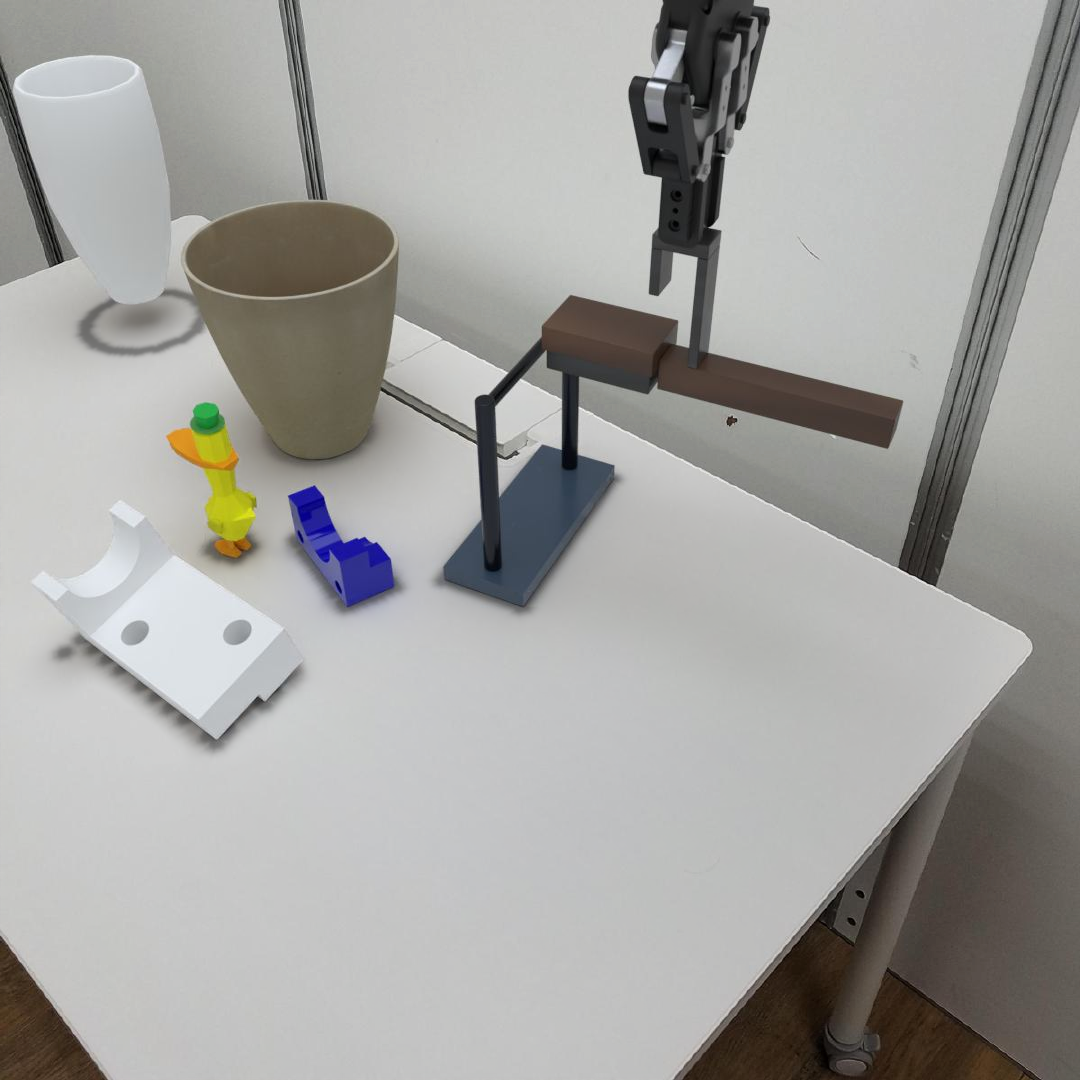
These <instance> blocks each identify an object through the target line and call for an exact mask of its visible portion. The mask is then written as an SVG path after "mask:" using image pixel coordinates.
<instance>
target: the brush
mask: <svg viewBox="0 0 1080 1080" xmlns="http://www.w3.org/2000/svg"><path fill="white" fill-rule="evenodd" d="M696 143H697V138H696ZM715 145H716V135H714V138H713V146H712V154H711V162H710V165H711V169H710V173H709V175H708V183H707V194H706V204H705V214H704V225H703V235H702V239H701V240H700V242H699V243H698V244H697V245H696V246H695V247H694V248H691V249H689V248H684V247H679V246H674V245H670V244H665V243H663V242H662V241H661V240H660V239H659V237H658V228H656V230H655V231H654V232H653V233H652V235H651V250H650V252H651V253H650V264H649V265H650V266H649V279H648V280H649V282H648V295H650V296H654V297H659V296H660V295H661V294H662V293H663V291H664V290H665V289H666V287H667V286H668V285H669V284H670V282H671V281H672V276H673V262H674V254H678V255H683V256H689V257H693V258H697V260H696V271H695V279H694V291H693V302H692V313H691V322H690V333H689V345H688V347H687V346H684V345H678V344H677V342H678V331H679V320H678V319H675V318H670V317H665V316H662V315H658V314H653V313H649V312H644V311H641V310H637V309H632V308H627V307H623V306H620V305H615V304H611V303H607V302H602V301H598V300H594V299H591V298H585V297H582V296H578V295H572V294H570V295H569V296H568V297H566V299H564V301H563V302H562V303H561V304H560V305H559V306H558V307H557V308H556V310H555V311H553V313H552V314H551V315H550V316H549V318H547V319H546V320H545V321H544V323H543V324H542V325H541V337H542V349H544V350H546V369H549V370H553V371H557V372H560V373H562V372H564V373H567V374H571V375H575V376H579V378H583V379H586V380H591V381H595V382H598V383H601V384H606V385H611V386H614V387H616V388H617V387H618V388H620V389H625V390H628V391H632V392H636V393H640V394H643V395H649V394H650V393H651V391H653V389H654V387H655V386H656V389H657V390H659V391H663V392H667V393H672V394H675V395H679V396H683V397H687V398H690V399H695V400H697V401H702V402H706V403H709V404H713V405H717V406H721V407H726V408H729V409H733V410H736V411H740V412H743V413H744V412H745V413H749V414H752V415H756V416H760V417H764V418H767V419H771V420H775V421H779V422H782V423H786V424H789V425H790V424H791V425H794V426H797V427H801V428H805V429H810V430H813V431H817V432H820V433H824V434H829V435H832V436H835V437H840V438H844V439H847V440H851V441H855V442H859V443H863V444H867V445H870V446H874V447H878V448H882V449H886V450H888V449H889V448H890V446H891V443H892V441H893V439H894V437H895V434H896V431H897V429H898V424H899V421H900V417H901V413H902V409H903V405H904V400H903V399H899V398H895V397H891V396H887V395H883V394H880V393H879V394H878V393H874V392H870V391H866V390H863V389H858V388H854V387H850V386H846V385H842V384H838V383H835V382H829V381H826V380H821V379H818V378H814V377H809V376H805V375H801V374H797V373H793V372H789V371H785V370H781V369H777V368H773V367H770V366H769V367H768V366H764V365H760V364H758V363H757V364H756V363H752V362H749V361H744V360H740V359H736V358H733V357H728V356H723V355H721V354H720V355H719V354H716V353H711V352H710V351H709V350H710V343H711V342H710V341H711V332H712V324H713V323H712V321H713V313H714V306H715V305H714V304H715V296H716V286H717V279H718V278H717V277H718V269H719V260H720V259H719V258H720V249H721V242H722V241H721V240H722V233H723V231H722V230H721V229H717V228H712V227H708V228H707V226H708V216H709V206H710V195H711V185H712V175H713V165H714V155H715Z"/></svg>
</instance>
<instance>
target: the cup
mask: <svg viewBox="0 0 1080 1080" xmlns="http://www.w3.org/2000/svg"><path fill="white" fill-rule="evenodd" d="M12 94H13V98H14V100H15V105H16V107H17V111H18V115H19V119H20V122H21V126H22V130H23V133H24V136H25V140H26V143H27V148H28V150H29V153H30V157H31V159H32V162H33V165H34V167H35V171H36V172H37V176H38V178H39V180H40V183H41V186H42V188H43V191H44V193H45V196H46V199H47V201H48V205H49V207H50V209H51V211H52V213H53V214H54V216H55V218H56V220H57V221H58V223H59V225H60V226H61V229H62V230H63V232H64V234H65V236H66V237H67V239H68V241H69V243H70V244H71V246H72V248H73V250H74V252H75V253H76V255H77V256H78V257H79V259H80V260H81V262H82V264H84V266H85V267H86V269H87V270H88V271H89V272H90V274H91V275H92V277H93V278H94V280H95V281H96V282H97V283H98V284H99V285H100V287H102V289H103V291H105V292H106V293H107V294H108V295H109V297H111V299H112V300H113V301H114V302H116V303H119V304H121V305H138V304H144V303H147V302H150V301H153V300H155V299H156V298H158V297H159V296H161V295H162V293H163V292H164V291H165V289H166V283H167V280H168V279H167V278H168V274H169V267H170V258H171V246H172V221H171V219H172V218H171V217H172V216H171V194H170V193H171V190H170V181H169V176H168V171H167V166H166V165H167V164H166V161H165V154H164V150H163V145H162V139H161V135H160V129H159V125H158V122H157V118H156V115H155V111H154V108H153V104H152V99H151V97H150V93H149V90H148V87H147V82H146V79H145V76H144V72H143V69H142V68H141V67H140V65H138V64H137V63H135V62H134V61H132V60H130V59H129V58H123V57H119V56H115V55H98V54H97V55H95V54H90V55H79V56H68V57H64V58H58V59H55V60H51V61H46V62H42V63H40V64H38V65H36V66H33V67H31V68H28V69H26V70H25V71H23V72H22V73H20V74H19V75H18V76H16V77H15V79H14V81H13V87H12Z"/></svg>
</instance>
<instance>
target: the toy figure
mask: <svg viewBox="0 0 1080 1080" xmlns="http://www.w3.org/2000/svg"><path fill="white" fill-rule="evenodd" d="M192 414H193V417H192V418H191V419H190V421H189V426H190V428H189V427H188V428H180V429H174V430H172V431H171V432H170V433H168V434H167V435H165V438H166V439H167V441H168V443H169V446H170V449H172V450H173V452H174V453H175V454H177V455H178V456H179V457H181V458H182V459H184V460H185V461H187V462H189V463H191V464H192V465H195V466H197V467H199V468H201V469H202V471H203V473H204V474H205V478H206V479H207V481H208V484H209V486H210V488H211V490H212V493H211V495H210V497H209V498H208V501H207V502H206V504H205V505H204V510H205V513H206V517H207V523H206V526H207V527H208V528H209V529H210V530H211V531H212V532H214V533H215V534H216V535H217V536H219V537H220V538H222V539H217V540H216V541H215V543H214V544H213V545H214V547H215V549H216V550H217V551H218V552H219V554H222V555H224V556H228V557H232V558H235V559H238V558H239V557H240V556H241V555H242V554H243V553H242V551H243V550H244V551H248V550H249V549H251V548H252V544H251V543H250V541H249V540H248V539H247V538H246V535H247V534H248V532H249V531H250V529H251V527H252V525H253V523H254V521H255V519H256V518H257V515H256V513H255V511H254V509H255V508H258V507H257V505H258V504H257V496H256V495H254V494H253V493H252V492H250V491H249V490H248V491H246V492H245V490H242V489H241V488H239V487H238V486H237V483H236V471H235V468H236V467H237V464H238V462H239V461H240V457H239V455H238V454H237V452H236V450H235V449H234V447H233V445H232V443H231V439H230V436H229V432H228V429H227V425H226V419H225V417H224V416H223V415H222V414H220V408H219V406H217V404H216V403H214V402H213V403H212V402H206V401H205V402H202V403H199V404H196V405H195V407H193V409H192ZM241 550H242V551H241Z"/></svg>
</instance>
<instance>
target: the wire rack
mask: <svg viewBox="0 0 1080 1080" xmlns="http://www.w3.org/2000/svg"><path fill="white" fill-rule="evenodd" d="M546 352H547V350H544V349H542V336H540V338H539V339H538V340H537V341H536V342H535V343H534V344H533V345H532V346H531V347H530V348H529V349H528V351H527V352H526V353H525V354H524V355H522V357H521V358H520V359H519V360H518V361H517V363H516V364H515V365H514V366H512V368H511V369H510V370H509V371H508V373H506V374H505V375H504V376H503V378H502V379H501V380H500V381H499V382H498V383H497V384H496V385H495V386H494V388H493V389H492V390H491V391H490V392H489V393H488V394H480V395H478V396H476V397H475V398H474V416H475V417H474V418H475V435H476V451H477V467H478V485H479V486H478V487H479V502H480V518H481V519H480V521H478V523H477V524H476V525H475V527H474V528H473V529H472V530H471V531H470V532H469V534H468V535H467V536H466V538H465V539H464V540H463V541H462V542H461V544H460V545H459V546H458V548H457V549H456V550H455V551H454V552H453V554H452V555H451V557H450V558H449V559H448V560H447V562H446V563H444V565H443V566H442V569H443V576H444V577H443V579H444V580H445V581H448V582H452V583H454V584H457V585H460V586H463V587H466V588H468V589H472V590H475V591H476V592H480V593H483V594H485V595H488V596H491V597H494V598H497V599H500V600H503V601H505V602H509V603H512V604H515V605H517V606H520V607H525V605H526V604H527V602H528V601H529V599H530V598H531V597H532V595H533V594H534V592H535V591H536V589H537V588H538V587H539V586H540V583H541V582H542V581H543V580H544V578H545V576H546V575H547V574H548V572H549V571H550V570H551V568H552V567H553V565H554V564H555V563H556V561H557V560H558V558H559V557H560V555H561V554H562V553H563V552H564V550H565V548H566V547H567V546H568V544H569V543H570V541H571V540H572V539H573V537H574V535H575V534H576V533H577V531H578V530H579V529H580V527H581V525H582V524H583V523H584V521H585V520H586V519H587V517H588V516H589V514H590V513H591V511H592V510H593V508H595V506H596V504H597V503H598V501H600V498H601V497H602V496H603V495H604V493H605V492H606V490H607V489H608V488H609V486H610V485H611V483H612V481H613V480H614V478H615V471H616V470H615V469H616V465H614V464H611V463H608V462H604V461H601V460H598V459H596V458H595V459H594V458H591V457H587V456H584V455H581V454H579V422H580V421H579V420H580V419H579V417H580V415H579V414H580V377H579V376H575V375H571V374H567V373H564V372H561V448H556V447H554V446H550V445H546V444H541V445H540V446H539V448H538V449H536V451H535V452H534V453H533V455H532V456H531V457H530V459H529V460H528V461H527V462H526V463H525V465H524V466H523V467H522V469H521V470H520V471H518V473H517V475H516V476H515V477H514V478H513V479H512V481H511V482H510V483H509V484H508V486H507V487H506V488H505V490H504V491H503V492H502V493H501V494H500V485H499V482H500V481H499V461H498V459H499V458H498V441H497V440H498V439H497V417H496V413H497V412H496V407H497V406H498V405H499V404H500V402H502V400H503V399H504V398H505V397H506V396H507V395H508V394H509V393H510V391H511V390H512V389H513V388H514V387H515V386H516V385H517V383H519V381H521V379H522V378H523V377H524V376H525V375H526V374H527V372H528V371H529V370H530V369H531V368H532V367H533V366H534V365H535V363H536V362H538V360H539V359H540V358H541V357H542V356H543V355H544V353H546Z"/></svg>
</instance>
